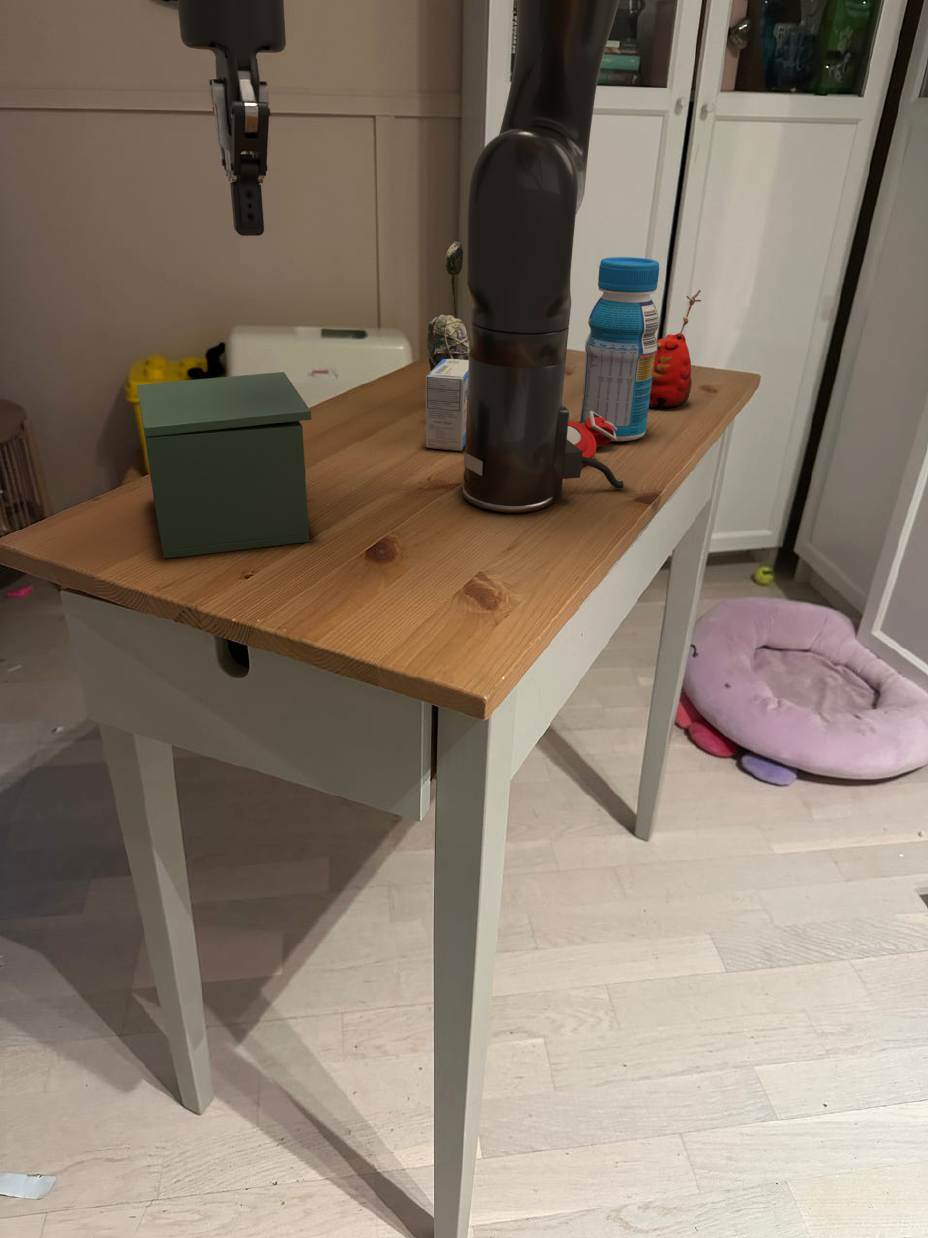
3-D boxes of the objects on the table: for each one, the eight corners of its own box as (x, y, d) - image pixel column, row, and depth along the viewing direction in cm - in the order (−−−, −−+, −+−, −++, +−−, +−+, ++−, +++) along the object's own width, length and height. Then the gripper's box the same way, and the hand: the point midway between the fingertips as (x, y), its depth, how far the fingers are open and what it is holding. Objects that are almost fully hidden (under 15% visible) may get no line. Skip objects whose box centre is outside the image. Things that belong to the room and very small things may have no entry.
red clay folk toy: (634, 393, 126) (649, 282, 118) (684, 396, 125) (703, 285, 118) (638, 409, 119) (654, 292, 112) (691, 412, 119) (711, 295, 111)
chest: (284, 490, 90) (276, 385, 85) (309, 542, 80) (302, 425, 75) (154, 503, 86) (138, 393, 81) (163, 559, 76) (145, 437, 71)
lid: (284, 379, 85) (284, 371, 84) (311, 419, 75) (311, 410, 74) (138, 393, 81) (136, 384, 80) (145, 437, 71) (143, 427, 70)
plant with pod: (405, 411, 115) (406, 245, 104) (454, 392, 123) (459, 236, 113) (457, 424, 111) (463, 253, 101) (504, 403, 119) (514, 243, 109)
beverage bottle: (588, 444, 106) (604, 264, 96) (570, 423, 113) (584, 255, 103) (656, 442, 107) (678, 265, 97) (634, 422, 114) (653, 255, 104)
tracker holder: (581, 466, 96) (503, 428, 99) (572, 497, 99) (497, 459, 102) (629, 415, 103) (555, 381, 106) (619, 446, 107) (548, 412, 109)
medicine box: (461, 452, 102) (464, 377, 98) (424, 448, 103) (425, 373, 98) (474, 431, 109) (478, 360, 104) (439, 428, 109) (441, 356, 105)
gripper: (299, -35, 59) (312, 245, 68) (266, -17, 70) (281, 223, 78) (181, -45, 57) (211, 246, 65) (166, -25, 67) (193, 224, 76)
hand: (249, 233), depth 72 cm, fingers closed
